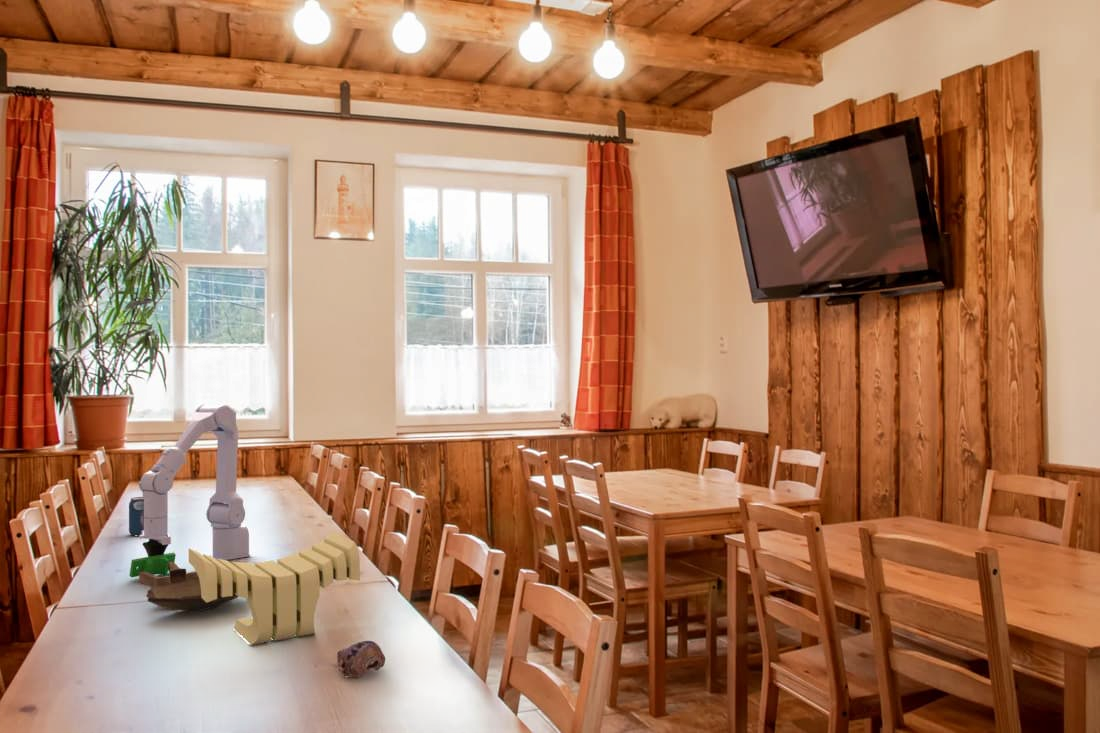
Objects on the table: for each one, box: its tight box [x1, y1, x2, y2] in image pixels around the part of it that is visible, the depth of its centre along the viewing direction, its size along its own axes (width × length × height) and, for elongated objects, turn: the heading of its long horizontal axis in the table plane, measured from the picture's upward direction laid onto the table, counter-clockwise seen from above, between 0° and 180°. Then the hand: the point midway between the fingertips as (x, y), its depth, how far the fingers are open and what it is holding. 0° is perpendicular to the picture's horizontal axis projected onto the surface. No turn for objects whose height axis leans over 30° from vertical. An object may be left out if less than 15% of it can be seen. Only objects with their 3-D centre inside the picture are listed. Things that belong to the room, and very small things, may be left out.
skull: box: [336, 640, 386, 678], centre depth 157 cm, size 12×8×6 cm, turn 32°
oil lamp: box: [145, 562, 239, 612], centre depth 202 cm, size 22×30×8 cm
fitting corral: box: [138, 570, 199, 588], centre depth 227 cm, size 18×11×2 cm, turn 135°
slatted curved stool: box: [188, 531, 361, 646], centre depth 179 cm, size 30×16×18 cm, turn 124°
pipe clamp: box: [129, 551, 177, 578], centre depth 229 cm, size 11×4×5 cm, turn 141°
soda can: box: [128, 496, 144, 535], centre depth 288 cm, size 7×7×12 cm
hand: (155, 568), depth 232 cm, fingers closed, pressing on pipe clamp
